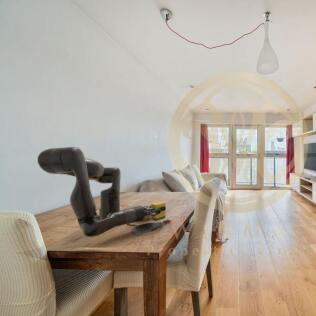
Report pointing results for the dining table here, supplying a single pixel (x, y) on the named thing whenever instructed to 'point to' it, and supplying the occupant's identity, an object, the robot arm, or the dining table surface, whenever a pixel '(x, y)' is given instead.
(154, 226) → the pan
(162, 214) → the sponge
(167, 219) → the brown small block
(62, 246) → the dining table surface
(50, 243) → the dining table surface
